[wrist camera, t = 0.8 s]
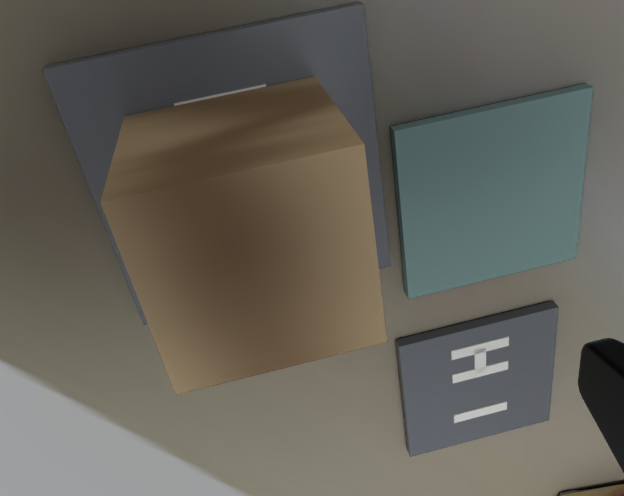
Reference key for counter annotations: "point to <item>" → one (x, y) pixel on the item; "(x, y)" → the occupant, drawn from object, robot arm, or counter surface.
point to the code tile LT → (219, 88)
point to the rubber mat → (491, 189)
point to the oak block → (247, 232)
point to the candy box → (598, 491)
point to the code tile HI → (477, 377)
